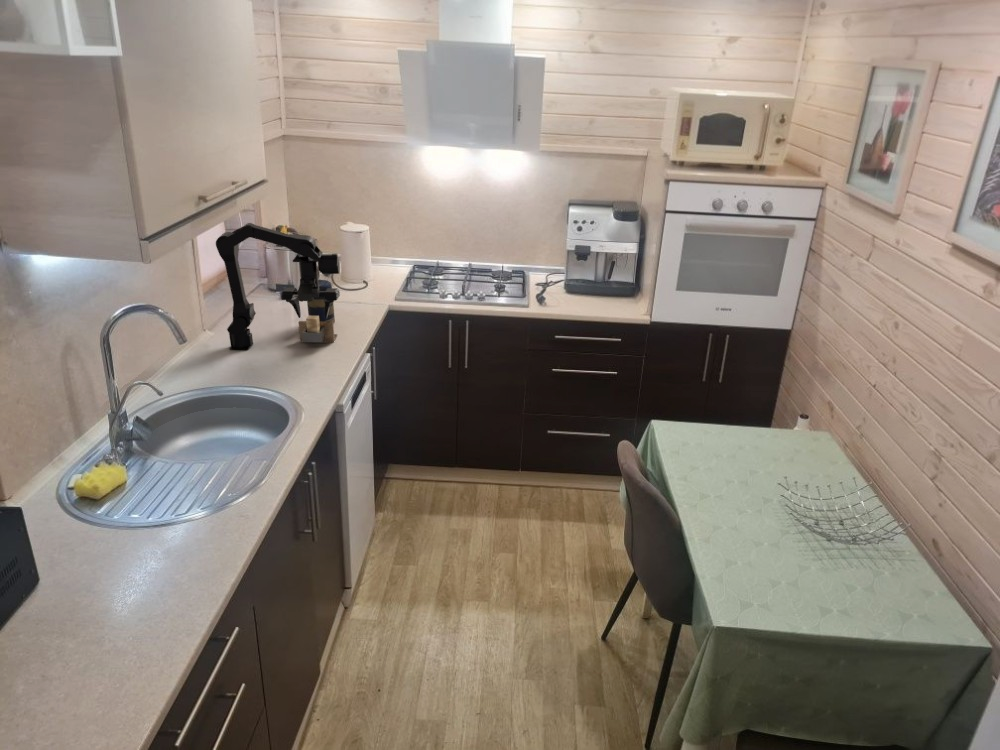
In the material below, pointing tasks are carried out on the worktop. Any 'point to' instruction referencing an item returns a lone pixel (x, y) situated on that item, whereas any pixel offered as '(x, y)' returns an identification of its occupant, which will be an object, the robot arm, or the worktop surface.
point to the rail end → (313, 324)
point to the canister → (321, 304)
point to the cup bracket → (322, 336)
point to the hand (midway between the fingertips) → (312, 317)
